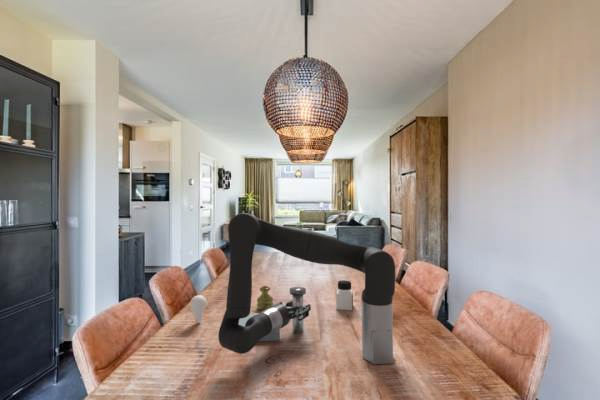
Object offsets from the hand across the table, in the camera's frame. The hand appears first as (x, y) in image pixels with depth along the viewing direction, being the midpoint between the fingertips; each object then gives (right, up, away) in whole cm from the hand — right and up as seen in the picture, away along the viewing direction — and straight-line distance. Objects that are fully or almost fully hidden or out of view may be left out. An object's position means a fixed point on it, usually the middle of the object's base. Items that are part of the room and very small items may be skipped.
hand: (301, 304), depth 113 cm
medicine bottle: (+20, -9, +22) cm, 31 cm away
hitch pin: (-1, -9, -2) cm, 9 cm away
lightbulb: (-41, -10, +6) cm, 43 cm away
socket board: (-17, -9, -1) cm, 20 cm away
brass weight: (-16, -10, +22) cm, 29 cm away
